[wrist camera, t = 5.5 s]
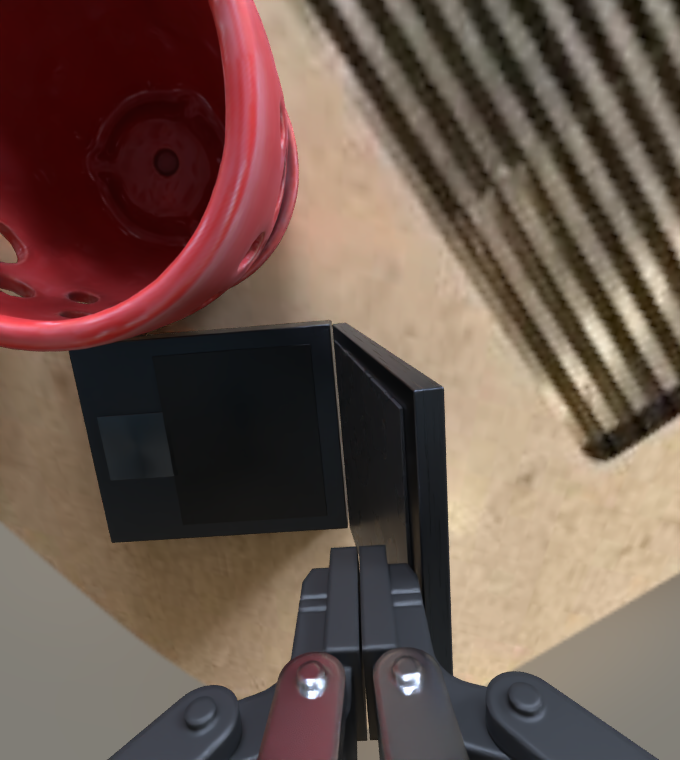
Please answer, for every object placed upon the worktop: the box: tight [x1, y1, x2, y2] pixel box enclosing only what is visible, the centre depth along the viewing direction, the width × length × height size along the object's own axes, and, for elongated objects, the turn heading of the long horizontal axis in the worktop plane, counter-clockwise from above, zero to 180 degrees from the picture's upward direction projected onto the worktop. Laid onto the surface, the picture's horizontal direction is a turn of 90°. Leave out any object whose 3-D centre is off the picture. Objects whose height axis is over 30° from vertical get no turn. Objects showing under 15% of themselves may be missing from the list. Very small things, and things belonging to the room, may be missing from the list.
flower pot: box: [0, 0, 299, 352], centre depth 17 cm, size 13×13×12 cm
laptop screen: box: [332, 323, 453, 676], centre depth 18 cm, size 13×11×1 cm
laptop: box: [69, 320, 348, 543], centre depth 25 cm, size 13×11×2 cm
